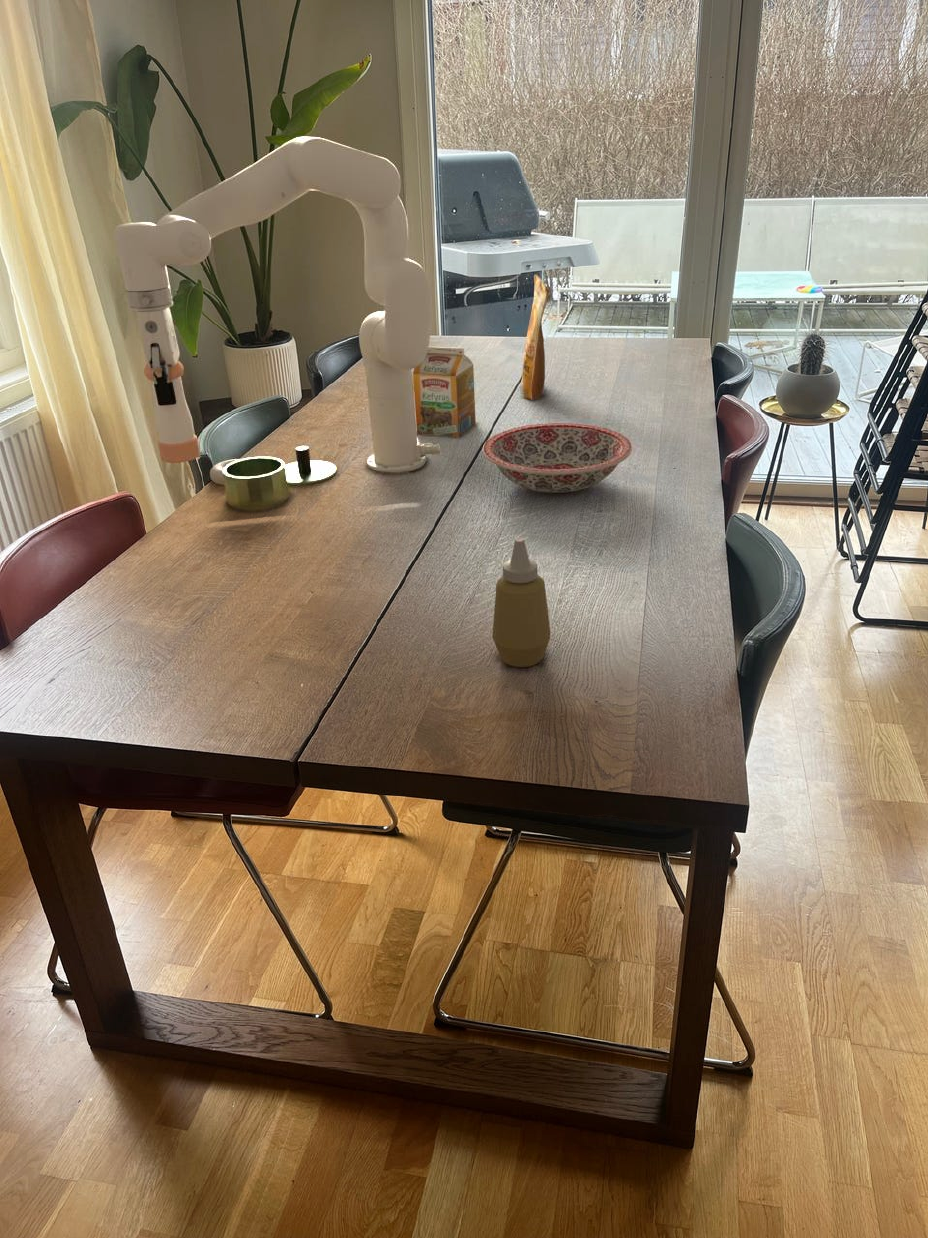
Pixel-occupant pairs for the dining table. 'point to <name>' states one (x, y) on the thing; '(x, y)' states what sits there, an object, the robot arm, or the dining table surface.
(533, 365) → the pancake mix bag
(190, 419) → the pepper shaker
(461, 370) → the milk carton
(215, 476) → the donut
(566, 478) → the ceramic bowl
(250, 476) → the pot
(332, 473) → the lid
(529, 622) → the squeeze bottle
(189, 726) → the dining table surface
